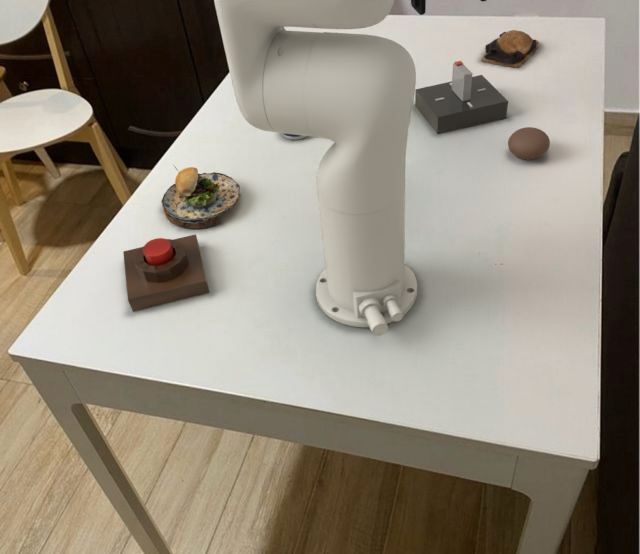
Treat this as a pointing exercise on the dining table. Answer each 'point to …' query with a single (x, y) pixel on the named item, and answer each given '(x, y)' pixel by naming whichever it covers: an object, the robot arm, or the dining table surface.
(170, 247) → the red push button
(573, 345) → the dining table surface
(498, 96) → the panel
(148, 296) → the block
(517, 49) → the bread roll
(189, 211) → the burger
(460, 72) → the grey flat block
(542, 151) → the brown flattened ball
